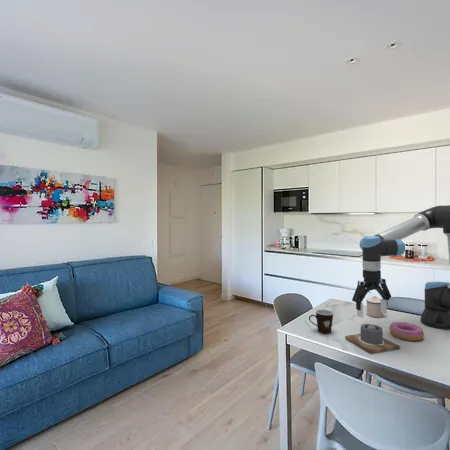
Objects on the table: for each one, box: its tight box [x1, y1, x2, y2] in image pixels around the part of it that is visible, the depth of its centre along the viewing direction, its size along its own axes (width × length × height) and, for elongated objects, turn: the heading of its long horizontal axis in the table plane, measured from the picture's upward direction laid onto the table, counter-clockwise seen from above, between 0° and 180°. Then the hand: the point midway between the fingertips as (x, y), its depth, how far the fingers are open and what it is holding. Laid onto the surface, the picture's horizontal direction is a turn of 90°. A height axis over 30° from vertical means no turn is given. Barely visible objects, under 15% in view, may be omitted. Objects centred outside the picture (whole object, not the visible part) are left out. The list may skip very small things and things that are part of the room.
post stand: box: [344, 324, 401, 355], centre depth 133 cm, size 16×16×9 cm
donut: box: [389, 321, 424, 342], centre depth 141 cm, size 14×14×5 cm
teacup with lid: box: [365, 295, 384, 319], centre depth 171 cm, size 12×9×12 cm
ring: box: [360, 323, 384, 345], centre depth 133 cm, size 9×9×6 cm
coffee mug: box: [308, 309, 334, 335], centre depth 148 cm, size 12×9×10 cm
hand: (372, 314), depth 133 cm, fingers open, 13 cm apart
